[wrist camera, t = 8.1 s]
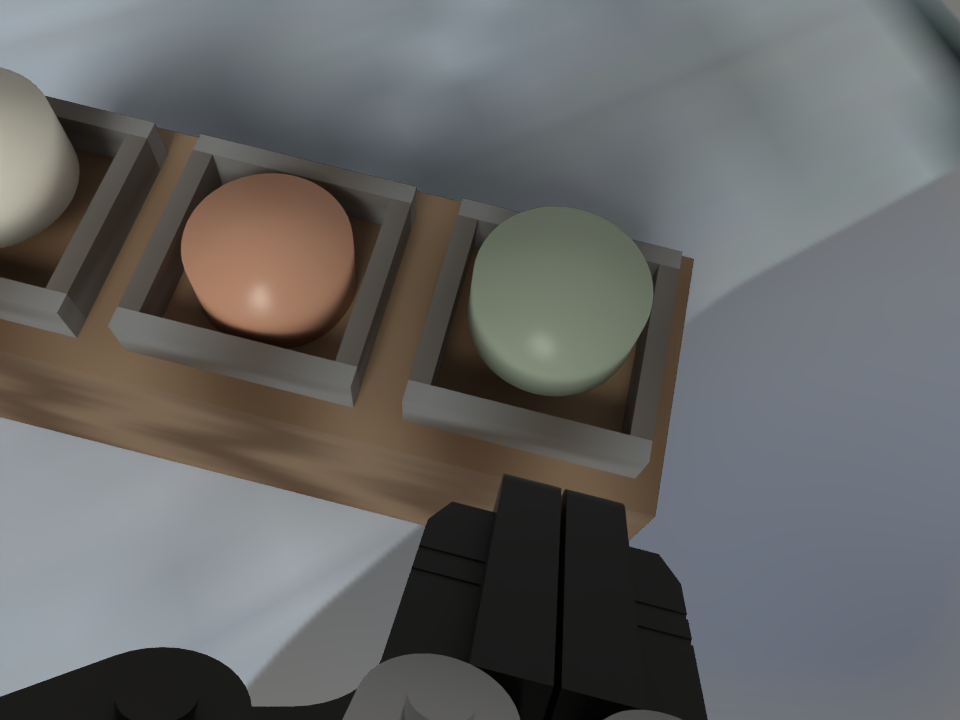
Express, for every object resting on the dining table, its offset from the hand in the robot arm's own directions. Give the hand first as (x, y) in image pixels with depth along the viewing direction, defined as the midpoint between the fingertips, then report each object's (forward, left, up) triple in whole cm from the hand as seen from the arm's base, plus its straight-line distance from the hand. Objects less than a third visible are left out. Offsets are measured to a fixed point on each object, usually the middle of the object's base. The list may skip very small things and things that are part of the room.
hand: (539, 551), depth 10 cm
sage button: (-6, +7, -10) cm, 13 cm away
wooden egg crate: (-12, +2, -19) cm, 23 cm away
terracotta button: (-12, +2, -12) cm, 17 cm away
